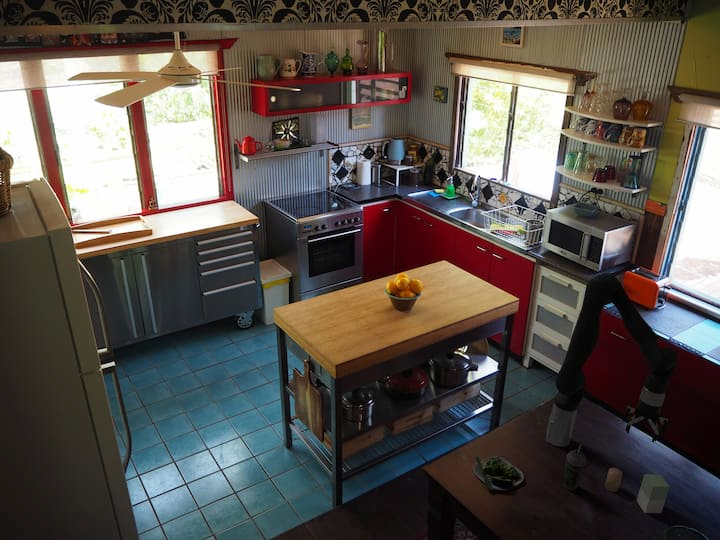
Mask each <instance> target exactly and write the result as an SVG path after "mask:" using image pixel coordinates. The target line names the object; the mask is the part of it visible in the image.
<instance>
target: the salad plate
mask: <svg viewBox="0 0 720 540" xmlns="http://www.w3.org/2000/svg"><path fill="white" fill-rule="evenodd" d="M474 462H475V465H474V466H473V473H474V475H475V476H476V477H477V478H478V479H479V480H480V481H482V482H483V483H484V485H486V487H487V488H488V490H489V491H494V492H500V493H507V492H509V490H510V491H512V490H514V489H516V488H517V487H519V486H521V485H522V484H523V483H524V482H525V476H524V473H523V472H522V470H520V469H518V467H516V466H515V465H513V464H512V463H511V462H510V461H508V460H507V459H505V458H504V457H500V456H497V455H495V456H490V457H487V458H485V459H484V460H481V459H480V458H479V456H477V455H475V456H474ZM502 466H503V467H502ZM487 474H488V475H490V476H491V477H488V476H486V475H487ZM513 480H516V481H515V483H513ZM506 491H507V492H506Z"/></svg>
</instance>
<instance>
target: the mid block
mask: <svg viewBox="0 0 720 540" xmlns="http://www.w3.org/2000/svg"><path fill="white" fill-rule="evenodd" d="M670 487H671V486H670V484H669V483H668V482H667V480H666V479H665V477H663V476H662V474H661V473H660V474H658V473H657V474H656V473H655V474H654V473H653V474H652V473H651V474H650V473H649V474H648V473H645V474H644V475H643V478H642V482H641V485H640V488H641V489H642V490H643V492H644V493H645V495H646V496H647V498H648V499H649V500H665V501H666V499H667V496H668V493H669V490H670Z"/></svg>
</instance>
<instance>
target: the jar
mask: <svg viewBox="0 0 720 540" xmlns="http://www.w3.org/2000/svg"><path fill="white" fill-rule="evenodd" d="M606 476H607V477H606V479H605V483H604V487H605V488H606V490H608V491H610V492H613V493H617V492H618V491H619V489H620V485H621V482H622V479H623V472H622V470H620V469H619V468H616V467H611V468H609V469H608V472H607V475H606Z"/></svg>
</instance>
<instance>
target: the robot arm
mask: <svg viewBox="0 0 720 540" xmlns="http://www.w3.org/2000/svg"><path fill="white" fill-rule="evenodd" d="M608 300H609V301H610V302H611V304H613V306H614V307H615V308H616V309H617V311H618V313H619V315H620V318H621V321H622V323H623V325H624V328H625V330H626V331H627V334H629V336H630V337H631V338H632V340H634V342H635V343H636V344H637V345H638V347H639V348H640V351H641V353H642V355H643V356H644V359H645V362H647V364H648V366H649V367H651V370H650V371H649V372H648V373H647V374H646V378H645V382H644V384H643V387H642V389H641V392H640V395H639V400H638V402H637V406H636V408H634V407H632V406H631V405H629V404H628V405H627V406H626V408H625V409H626V410H625V412H624V415H623V417H622V422H623V423H626V426H625V432H626V434H630V430H631V427H632V425H633V424H637V423H638V422H639V424H642V425H643V424H644V425H646V426H647V427H648V426H651V429H652V430H653V432H654V433H653V435H652V437H651V438H652V439H651V442H652V443H654V442H657V440H658V438H659V435H662V436H665V434H666V431H667V426H668V423H669V418H668V417H661V416H660V415H661V411H662V407H663V404H664V401H665V397H666V391H667V389H668V385H669V381H670V379H671V377H672V375H673V373H674V371H675V369H676V367H677V366H678V365H677V364H678V361H679V357H678V354H677V351H676V350H675V349H674V348H672V347H669V346H663V347H660V346H659V344H658V341H659V337H658V335H657V333H656V332H655V331H654V330H653V328H652V327H651V326H650V324H649V323H648V322H647V321H646V320H645V318H643V316H642V315H641V313H640V312H639V311H638V309H637V308H636V306H635V305H634V303H633V301H632V300H631V298H630V297H629V295H628V294H627V292H626V290H625V289H624V287H623V286H622V284H621V281H620V280H619V278H617V277H616V276H615V275H614V274H612V273H609V272H606V273H600V274H598V275H595V276H594V277H592V278H590V279H589V281H588V282H587V284H586V286H585V291H584V296H583V300H582V304H581V309H580V311H579V314H578V317H577V321H576V322H575V325H574V328H573V331H572V334H571V338H570V340H569V344H568V347H567V350H566V354H565V357H564V360H563V362H562V365H561V366H560V369H559V371H558V372H557V375H556V377H555V386H556V389H557V391H558V392H557V393H556V394H555V397H554V400H553V404H552V409H551V414H550V415H549V420H548V425H547V428H546V429H547V430H546V438H545V439H546V443H549V444H551V445H552V446H556V447H558V448H560V447H561V448H565V447H567V446H569V445H570V442H571V437H572V435H573V429H574V426H575V420H576V418H577V412H578V408H579V405H580V403H581V402H582V399H583V397H584V393H585V389H586V383H587V378H586V374H585V373H584V371H583V368H584V366H585V365H586V363H587V362H588V360H589V358H590V357H591V356H592V355H593V352H594V351H595V350H596V347H597V344H598V340H599V339H600V335H601V314H602V311H603V308H604V306H605V304H606V303H607V301H608ZM632 413H633V414H634V415H633V416H632V417H630V418H629V415H630V414H632ZM658 422H660V424H661V425H662V427H661V428H660V427H659V426H658Z"/></svg>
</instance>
